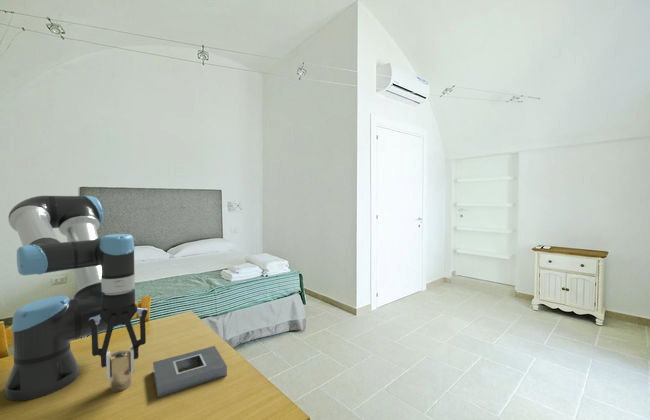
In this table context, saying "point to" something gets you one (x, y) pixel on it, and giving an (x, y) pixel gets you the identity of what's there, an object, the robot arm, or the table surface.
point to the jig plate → (174, 381)
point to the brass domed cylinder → (120, 371)
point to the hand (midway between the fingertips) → (120, 373)
